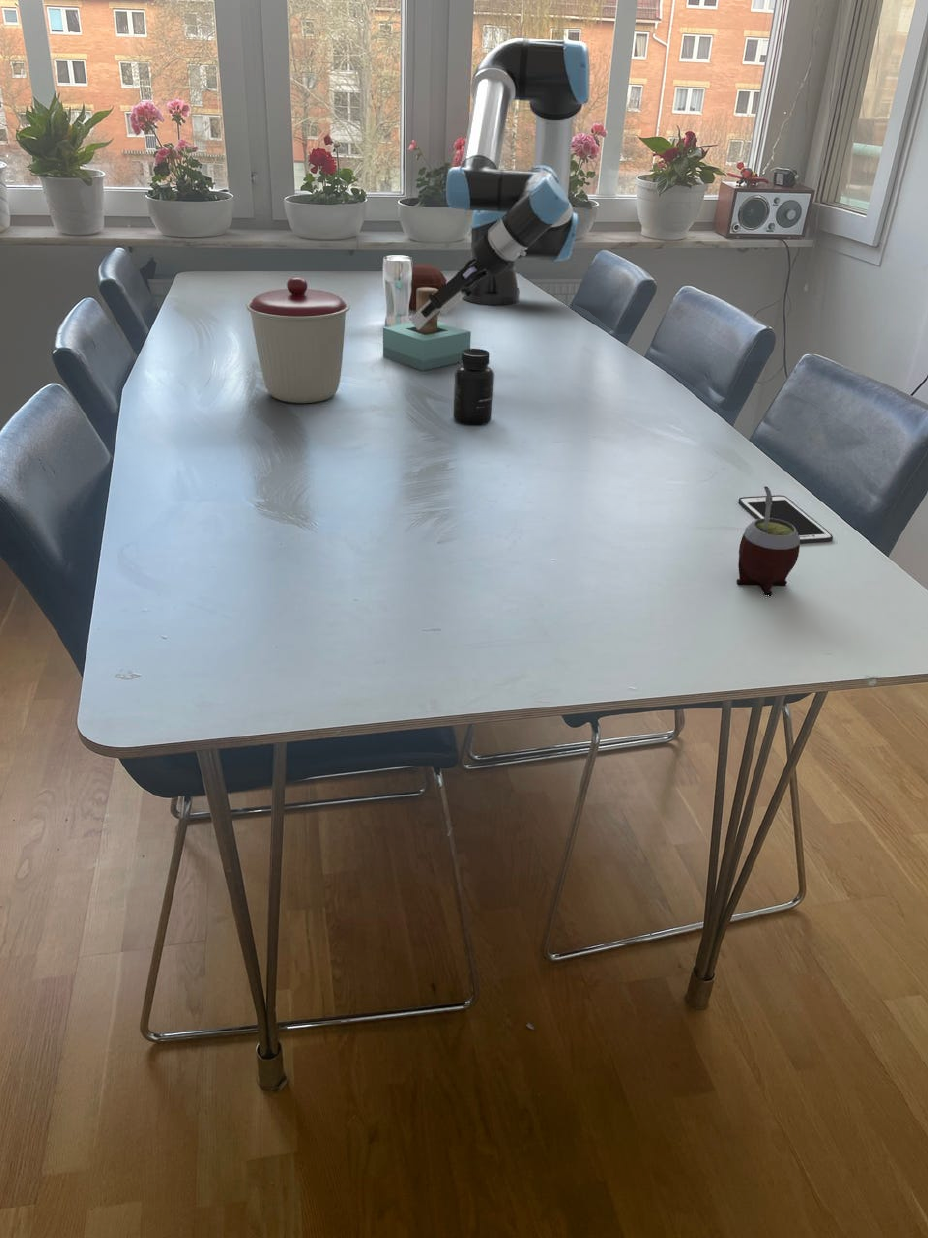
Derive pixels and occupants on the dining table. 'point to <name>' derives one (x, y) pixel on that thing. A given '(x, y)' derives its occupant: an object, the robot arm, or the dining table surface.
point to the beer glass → (397, 288)
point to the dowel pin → (421, 301)
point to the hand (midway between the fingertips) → (427, 316)
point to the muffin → (425, 280)
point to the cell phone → (788, 517)
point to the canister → (299, 341)
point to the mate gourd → (767, 551)
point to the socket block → (425, 345)
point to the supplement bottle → (473, 388)
